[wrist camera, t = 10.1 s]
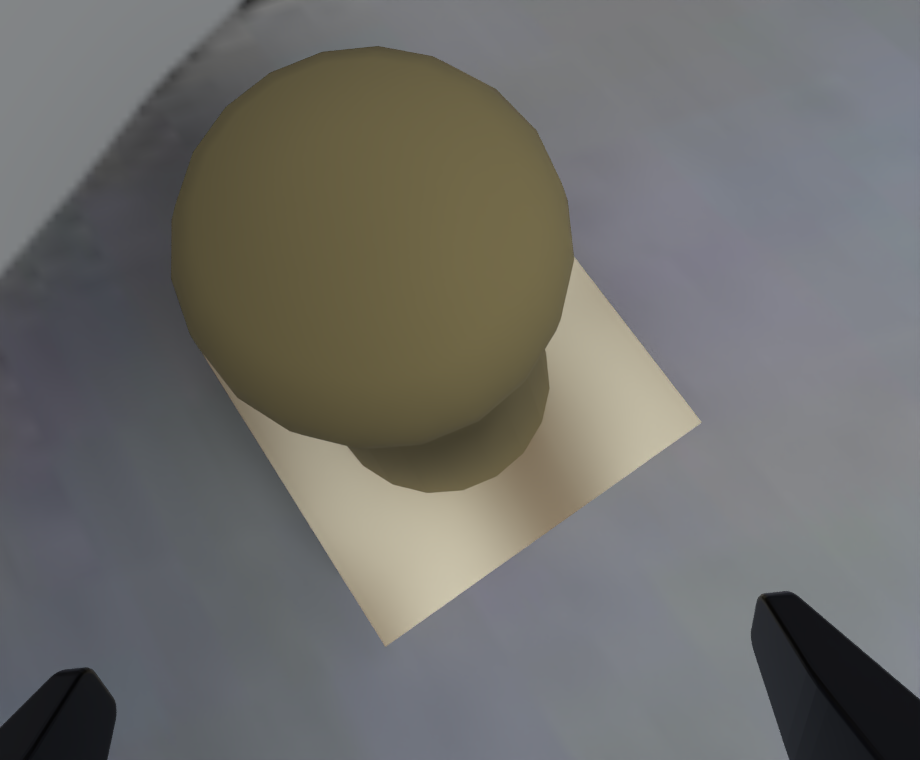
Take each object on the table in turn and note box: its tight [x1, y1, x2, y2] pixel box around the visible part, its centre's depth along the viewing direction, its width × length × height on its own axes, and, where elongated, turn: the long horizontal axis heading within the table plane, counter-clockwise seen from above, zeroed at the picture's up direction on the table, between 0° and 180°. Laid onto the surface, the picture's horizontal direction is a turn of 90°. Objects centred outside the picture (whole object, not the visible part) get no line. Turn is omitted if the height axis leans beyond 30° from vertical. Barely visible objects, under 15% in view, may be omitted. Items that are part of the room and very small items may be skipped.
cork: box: [171, 46, 574, 493], centre depth 13 cm, size 6×6×11 cm
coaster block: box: [202, 257, 702, 647], centre depth 19 cm, size 10×10×2 cm
